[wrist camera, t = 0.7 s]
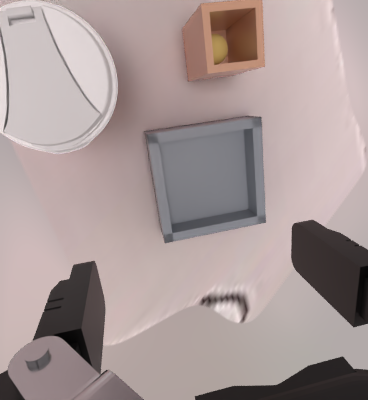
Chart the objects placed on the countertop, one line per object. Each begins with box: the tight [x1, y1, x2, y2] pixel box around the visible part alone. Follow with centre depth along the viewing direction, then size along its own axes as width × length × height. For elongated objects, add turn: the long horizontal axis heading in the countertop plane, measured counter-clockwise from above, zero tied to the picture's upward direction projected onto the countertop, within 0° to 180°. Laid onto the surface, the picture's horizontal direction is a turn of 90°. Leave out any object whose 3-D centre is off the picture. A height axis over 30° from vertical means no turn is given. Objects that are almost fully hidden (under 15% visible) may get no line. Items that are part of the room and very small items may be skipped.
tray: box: [145, 116, 266, 243], centre depth 34 cm, size 12×12×4 cm
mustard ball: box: [211, 34, 228, 65], centre depth 30 cm, size 3×3×3 cm
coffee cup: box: [0, 0, 118, 154], centre depth 23 cm, size 8×8×15 cm
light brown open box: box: [182, 0, 265, 81], centre depth 28 cm, size 5×5×8 cm
